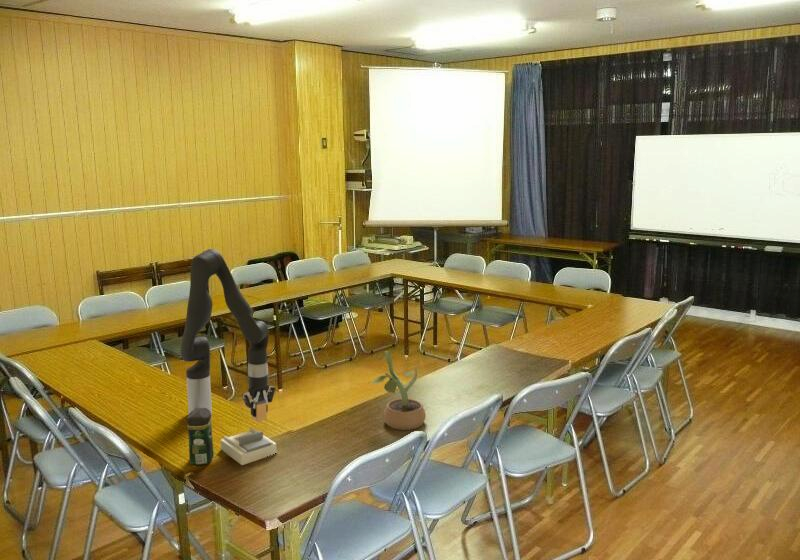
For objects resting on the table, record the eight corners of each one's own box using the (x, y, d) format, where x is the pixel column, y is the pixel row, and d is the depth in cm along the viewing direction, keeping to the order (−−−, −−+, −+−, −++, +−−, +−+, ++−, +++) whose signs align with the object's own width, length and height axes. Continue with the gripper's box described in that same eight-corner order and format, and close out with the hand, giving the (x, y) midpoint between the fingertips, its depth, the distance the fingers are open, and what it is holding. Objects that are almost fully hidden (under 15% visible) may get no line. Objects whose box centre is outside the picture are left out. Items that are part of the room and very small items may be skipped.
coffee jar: (193, 454, 248) (190, 406, 244) (215, 453, 249) (212, 405, 245) (187, 466, 239) (183, 416, 235) (210, 465, 239) (207, 416, 235)
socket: (221, 449, 252) (220, 437, 251) (255, 439, 261) (254, 427, 260) (241, 465, 240) (241, 452, 239) (276, 453, 249) (276, 441, 248)
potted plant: (426, 414, 285) (427, 345, 279) (424, 432, 267) (425, 359, 261) (372, 412, 286) (372, 344, 280) (367, 430, 269) (367, 357, 263)
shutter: (239, 445, 245) (238, 437, 245) (261, 438, 251) (261, 430, 250) (247, 451, 241) (247, 443, 240) (270, 444, 246) (270, 436, 246)
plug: (252, 418, 266) (251, 396, 264) (261, 415, 269) (260, 394, 267) (257, 422, 263) (257, 399, 261) (266, 419, 266) (266, 397, 264)
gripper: (246, 380, 254) (248, 423, 258) (279, 371, 264) (280, 413, 268) (236, 374, 260) (238, 416, 264) (269, 366, 269) (270, 407, 273)
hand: (259, 414), depth 266 cm, fingers closed on plug, 4 cm apart
